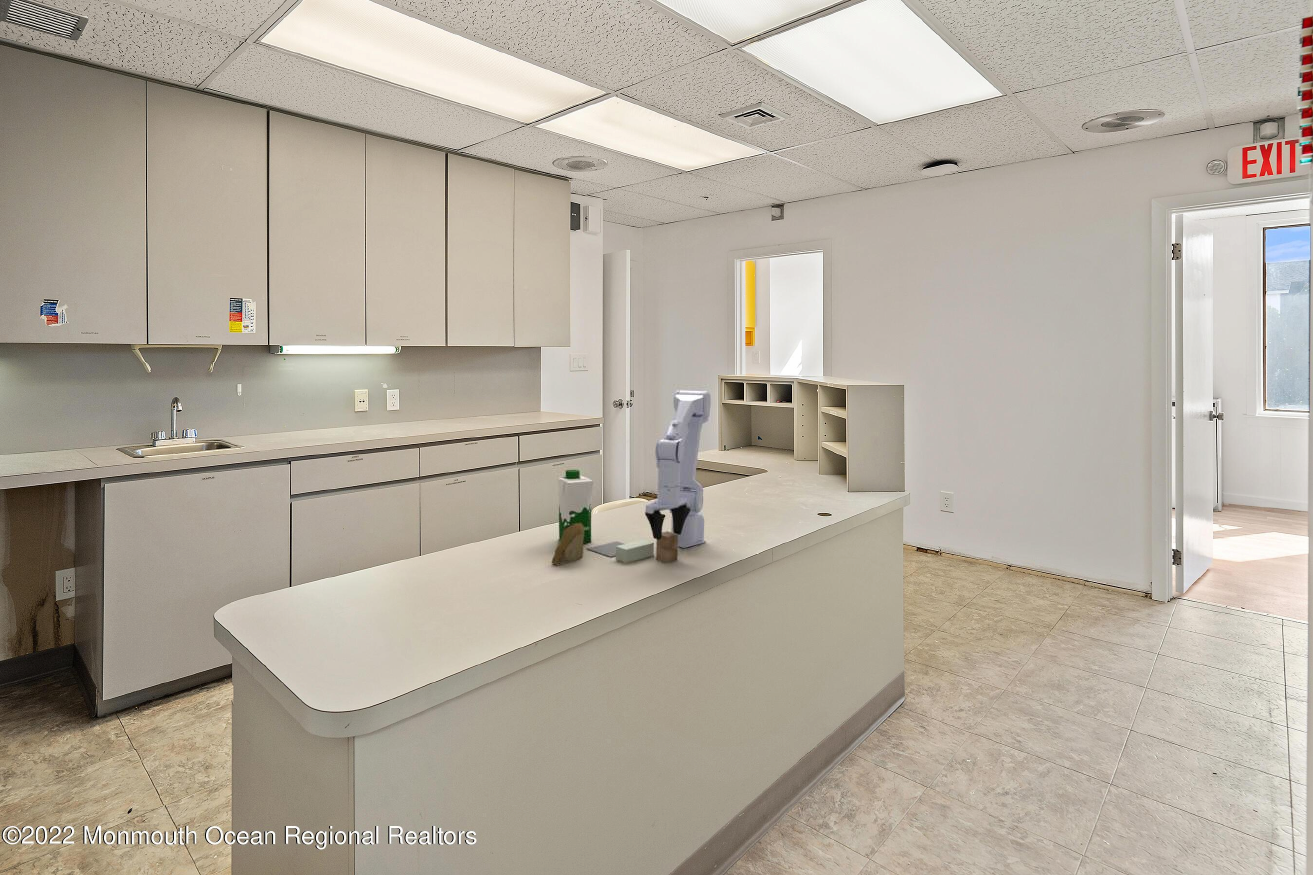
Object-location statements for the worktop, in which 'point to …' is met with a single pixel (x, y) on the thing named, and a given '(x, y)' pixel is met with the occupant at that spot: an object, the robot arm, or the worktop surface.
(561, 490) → the milk carton
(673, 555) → the walnut block
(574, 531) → the rock
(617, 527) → the worktop surface
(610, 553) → the mat
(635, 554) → the pale green rectangular block
